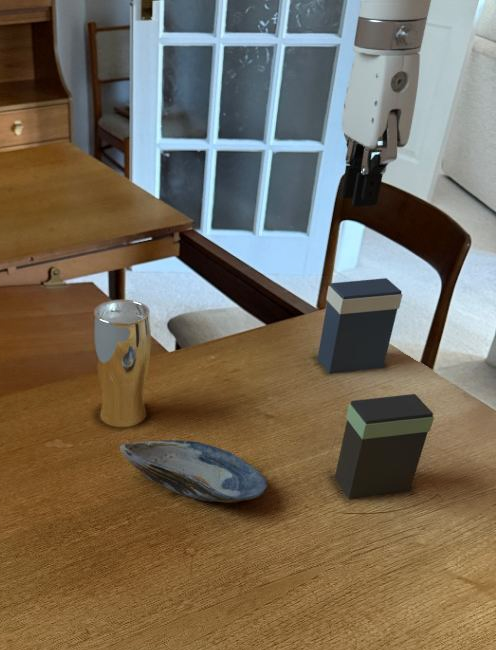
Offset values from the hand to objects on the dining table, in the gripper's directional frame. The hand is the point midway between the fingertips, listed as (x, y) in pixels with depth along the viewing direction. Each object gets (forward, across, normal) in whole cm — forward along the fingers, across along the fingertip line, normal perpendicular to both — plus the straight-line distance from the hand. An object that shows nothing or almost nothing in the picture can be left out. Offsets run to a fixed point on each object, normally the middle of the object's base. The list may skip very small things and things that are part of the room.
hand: (358, 199), depth 97 cm
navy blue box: (+21, -6, 0) cm, 22 cm away
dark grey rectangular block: (+21, -34, +9) cm, 41 cm away
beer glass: (+21, -14, +34) cm, 42 cm away
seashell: (+21, -30, +29) cm, 47 cm away
